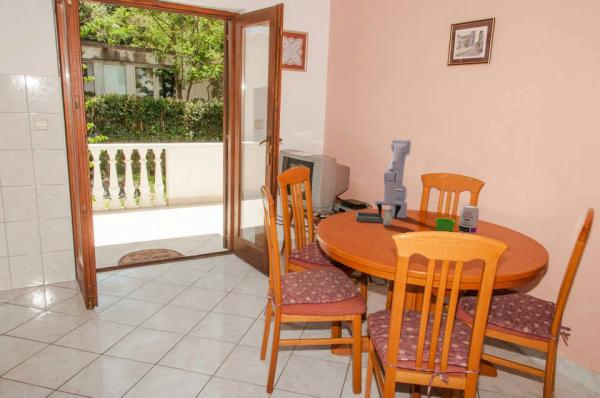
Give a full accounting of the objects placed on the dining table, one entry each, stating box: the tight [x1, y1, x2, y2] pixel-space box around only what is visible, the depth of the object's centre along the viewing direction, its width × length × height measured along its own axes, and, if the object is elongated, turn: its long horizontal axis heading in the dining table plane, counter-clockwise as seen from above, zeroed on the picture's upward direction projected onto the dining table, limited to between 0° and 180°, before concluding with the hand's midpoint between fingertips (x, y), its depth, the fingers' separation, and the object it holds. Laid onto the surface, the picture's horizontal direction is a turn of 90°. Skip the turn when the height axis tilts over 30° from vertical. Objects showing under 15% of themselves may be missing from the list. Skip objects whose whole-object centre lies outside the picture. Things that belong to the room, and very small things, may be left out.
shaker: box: [382, 208, 393, 226], centre depth 226 cm, size 4×4×8 cm
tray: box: [355, 211, 384, 224], centre depth 236 cm, size 14×12×2 cm
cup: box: [434, 217, 456, 233], centre depth 194 cm, size 9×9×11 cm
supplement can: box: [457, 204, 480, 235], centre depth 208 cm, size 8×8×15 cm
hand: (387, 218), depth 226 cm, fingers open, 7 cm apart
